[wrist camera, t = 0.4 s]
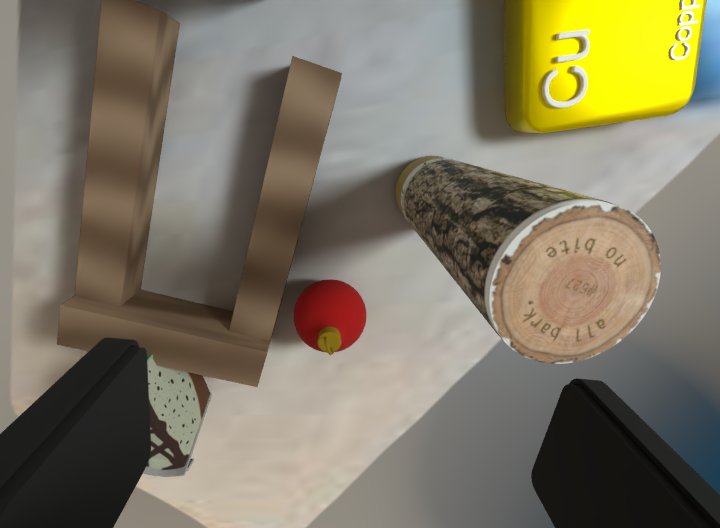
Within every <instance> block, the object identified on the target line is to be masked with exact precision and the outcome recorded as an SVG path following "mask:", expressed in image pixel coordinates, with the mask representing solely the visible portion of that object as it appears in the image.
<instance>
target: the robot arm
mask: <svg viewBox="0 0 720 528" xmlns="http://www.w3.org/2000/svg"><path fill="white" fill-rule="evenodd" d="M150 453H151V432H150V410H149V388H148V365H147V351H146V349H145V348H142V347H139V344H138V342H137V341H136V340H132V339H120V338H109V337H107V338H103V339H102V340H101V341H99V342H98V343H97V344H96V345H95V346H94V347H93V348H92V349H91V350H90V351H89V352H88V353H87V354H86V355H85V356H83V357H82V358H81V359H80V360H79V361H78V362H77V363H76V364H75V365H74V366H73V367H72V368H71V369H70V370H68V371H67V372H66V373H65V374H64V375H63V376H62V377H61V378H60V379H59V380H58V381H57V382H56V383H55V384H54V385H52V386H51V387H50V388H49V389H48V390H47V391H46V392H45V393H44V394H43V395H42V396H41V397H40V398H39V399H38V400H36V401H35V402H34V403H33V404H32V405H31V406H30V407H29V408H28V409H27V410H26V411H24V412H23V413H22V414H21V415H20V416H19V417H18V418H17V419H16V420H15V421H14V422H13V423H12V424H11V425H10V426H9V427H7V428H6V429H5V430H4V431H3V432H2V433H1V434H0V528H113V527H114V525H115V523H116V521H117V519H118V517H119V516H120V514H121V512H122V510H123V508H124V507H125V505H126V503H127V501H128V499H129V497H130V495H131V494H132V492H133V490H134V488H135V486H136V485H137V483H138V481H139V479H140V477H141V475H142V474H143V472H144V470H145V468H146V466H147V464H148V461H149V458H150ZM531 477H532V484H533V487H534V489H535V491H536V493H537V495H538V497H539V499H540V500H541V502H542V504H543V506H544V507H545V510H546V511H547V513H548V515H549V517H550V518H551V521H552V523H553V524H554V526H555V528H720V495H719V494H718V493H717V492H716V491H715V490H714V489H713V488H712V487H711V486H710V485H709V484H708V483H707V482H706V481H705V480H704V479H703V478H702V477H701V476H699V474H698V473H696V471H694V469H693V468H692V467H690V466H689V465H688V464H687V463H686V462H685V461H684V460H683V459H682V458H681V457H680V456H679V455H678V454H677V453H676V452H675V451H674V450H673V449H672V448H671V447H670V446H669V445H668V444H667V443H666V442H665V441H664V440H663V439H661V437H660V436H659V435H657V433H655V432H654V431H653V430H652V429H651V428H650V427H649V426H648V425H647V424H646V423H645V422H644V421H643V420H642V419H641V418H640V417H639V416H638V415H637V414H636V413H635V412H634V411H633V410H632V409H631V408H630V407H629V406H628V405H627V404H626V403H625V402H624V401H623V400H622V399H621V398H619V397H618V396H617V395H616V394H615V393H614V392H613V391H612V390H611V389H610V388H609V387H608V386H607V385H606V384H604V383H603V382H602V381H598V380H597V381H596V380H586V379H573V380H572V381H571V382H570V383H569V384H568V385H566V386H564V388H563V390H562V392H561V395H560V398H559V400H558V403H557V406H556V408H555V411H554V414H553V416H552V419H551V422H550V425H549V427H548V430H547V432H546V435H545V438H544V440H543V443H542V446H541V448H540V451H539V454H538V456H537V459H536V462H535V464H534V467H533V470H532V476H531Z"/></svg>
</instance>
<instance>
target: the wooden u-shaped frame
mask: <svg viewBox="0 0 720 528" xmlns="http://www.w3.org/2000/svg"><path fill="white" fill-rule="evenodd" d="M179 25H180V23H179V22H177V21H176V20H174V19H173V18H171V17H170V16H168V15H167V14H165V13H164V12H162V11H161V10H159V9H156V8H153V7H151V6H148V5H145V4H142V3H139V2H136V1H133V0H102V3H101V13H100V24H99V35H98V46H97V57H96V68H95V79H94V89H93V100H92V111H91V122H90V133H89V144H88V155H87V166H86V176H85V187H84V198H83V209H82V220H81V231H80V242H79V253H78V263H77V274H76V285H75V296H73V297H72V298H70V299H69V300H67V301H66V302H64V303H63V304H61V305H60V313H59V326H58V338H57V345H62V346H67V347H71V348H76V349H81V350H86V351H90V350H91V349H92V348H93V347H94V346H95V345H96V344H97V343H98V342H99V341H101V340H102V339H103V338H107V337H109V338H120V339H132V340H136V341H137V342H138V344H139V347H142V348H145V349H146V351H147V356H149V355H153V357H152V358H153V360H154V362H155V364H156V366H161V367H165V368H170V369H175V370H180V371H184V372H189V373H194V374H198V375H203V376H208V377H213V378H217V379H222V380H227V381H231V382H236V383H241V384H245V385H250V386H255V387H257V386H258V383H259V380H260V376H261V373H262V369H263V366H264V363H265V359H266V356H267V352H268V348H269V345H270V341H271V337H272V334H273V330H274V326H275V322H276V319H277V315H278V311H279V307H280V304H281V300H282V296H283V293H284V289H285V285H286V281H287V278H288V274H289V270H290V267H291V263H292V259H293V255H294V252H295V248H296V244H297V241H298V237H299V233H300V229H301V226H302V222H303V218H304V214H305V211H306V207H307V203H308V200H309V196H310V192H311V188H312V185H313V181H314V177H315V174H316V170H317V166H318V162H319V159H320V155H321V151H322V148H323V144H324V140H325V136H326V133H327V129H328V125H329V121H330V118H331V114H332V110H333V107H334V103H335V99H336V95H337V92H338V88H339V84H340V81H341V75H342V73H340V72H337V71H334V70H331V69H328V68H325V67H322V66H320V65H317V64H314V63H311V62H308V61H305V60H302V59H299V58H297V57H294V56H292V60H291V65H290V69H289V73H288V78H287V82H286V86H285V91H284V95H283V99H282V104H281V108H280V112H279V117H278V121H277V125H276V130H275V134H274V138H273V143H272V147H271V151H270V156H269V160H268V164H267V169H266V173H265V177H264V182H263V186H262V190H261V195H260V199H259V204H258V208H257V212H256V217H255V221H254V225H253V230H252V234H251V238H250V243H249V247H248V251H247V256H246V260H245V264H244V269H243V273H242V277H241V282H240V286H239V290H238V295H237V299H236V303H235V308H234V312H232V311H227V310H223V309H219V308H215V307H211V306H207V305H202V304H198V303H194V302H190V301H186V300H182V299H177V298H173V297H169V296H165V295H161V294H157V293H152V292H148V291H144V290H141V283H142V276H143V269H144V262H145V256H146V249H147V242H148V235H149V228H150V222H151V215H152V208H153V201H154V194H155V188H156V181H157V174H158V167H159V161H160V154H161V147H162V140H163V133H164V127H165V120H166V113H167V106H168V99H169V93H170V86H171V79H172V72H173V65H174V59H175V52H176V45H177V38H178V31H179Z"/></svg>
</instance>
